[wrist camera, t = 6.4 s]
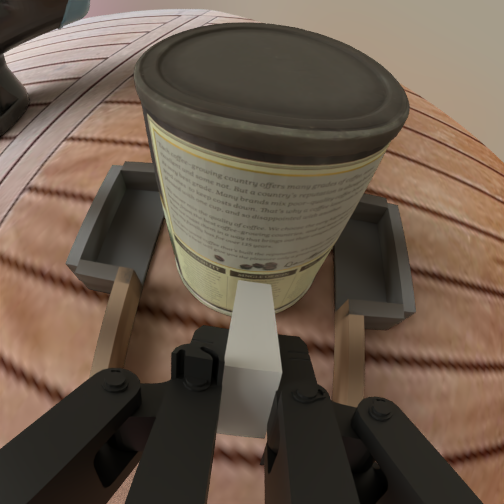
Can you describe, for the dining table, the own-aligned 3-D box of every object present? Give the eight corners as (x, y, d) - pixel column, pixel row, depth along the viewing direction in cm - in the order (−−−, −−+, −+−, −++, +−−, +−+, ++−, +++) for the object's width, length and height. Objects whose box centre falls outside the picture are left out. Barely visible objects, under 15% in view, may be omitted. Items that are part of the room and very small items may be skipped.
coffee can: (151, 228, 21) (108, 46, 9) (265, 179, 25) (294, 18, 13) (221, 350, 17) (219, 188, 5) (345, 273, 21) (451, 112, 9)
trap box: (397, 440, 15) (432, 441, 11) (49, 393, 14) (15, 384, 11) (367, 146, 29) (380, 118, 26) (157, 116, 29) (153, 86, 25)
